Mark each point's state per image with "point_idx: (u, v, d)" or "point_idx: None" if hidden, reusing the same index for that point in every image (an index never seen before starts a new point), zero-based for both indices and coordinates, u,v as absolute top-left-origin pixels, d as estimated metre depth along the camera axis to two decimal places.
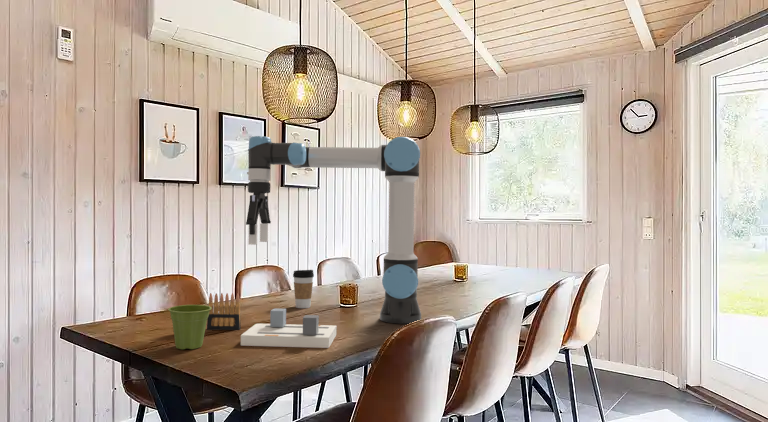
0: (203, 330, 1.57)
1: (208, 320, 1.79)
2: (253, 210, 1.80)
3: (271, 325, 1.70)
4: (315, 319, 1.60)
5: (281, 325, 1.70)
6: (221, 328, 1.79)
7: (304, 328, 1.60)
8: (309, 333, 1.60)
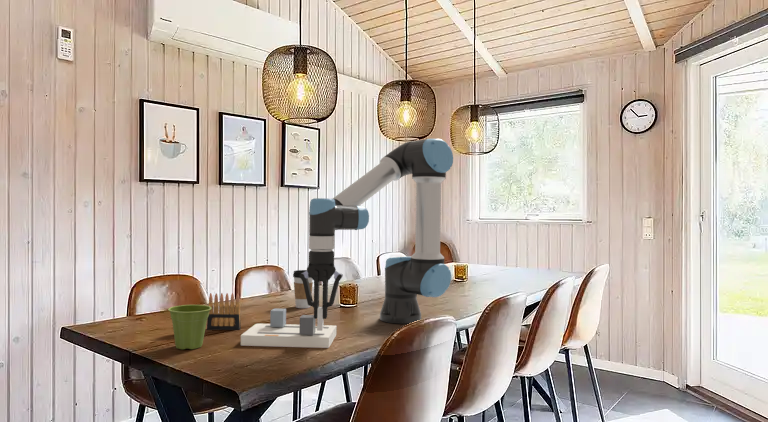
0: (203, 330, 1.57)
1: (208, 320, 1.79)
2: None
3: (271, 325, 1.70)
4: (312, 319, 1.60)
5: (281, 325, 1.70)
6: (221, 328, 1.79)
7: (301, 328, 1.60)
8: (306, 333, 1.60)
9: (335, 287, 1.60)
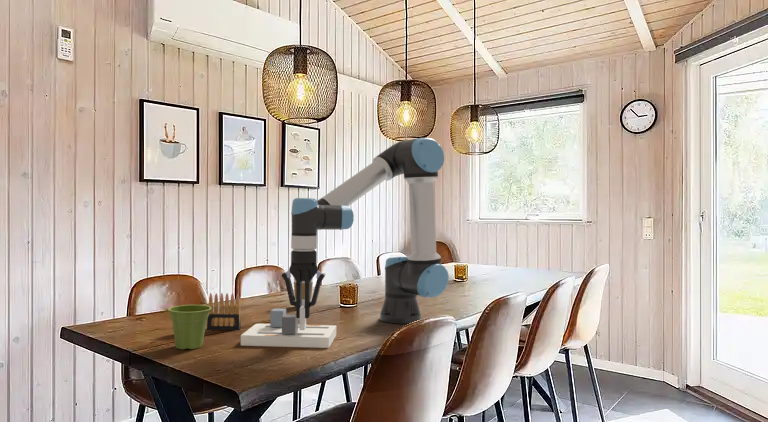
0: (203, 330, 1.57)
1: (208, 320, 1.79)
2: None
3: (271, 325, 1.70)
4: (294, 318, 1.60)
5: (281, 325, 1.70)
6: (221, 328, 1.79)
7: (283, 327, 1.61)
8: (288, 332, 1.61)
9: (317, 287, 1.61)
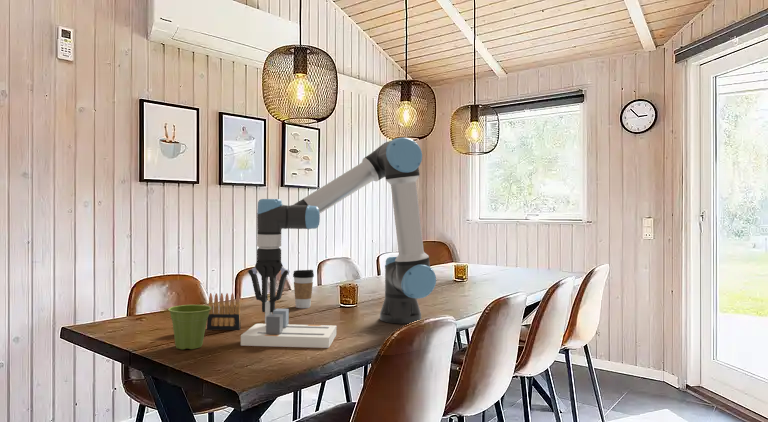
0: (203, 330, 1.57)
1: (208, 320, 1.79)
2: None
3: None
4: (278, 318, 1.61)
5: (284, 325, 1.70)
6: (221, 328, 1.79)
7: (267, 327, 1.61)
8: (272, 332, 1.61)
9: (281, 282, 1.71)
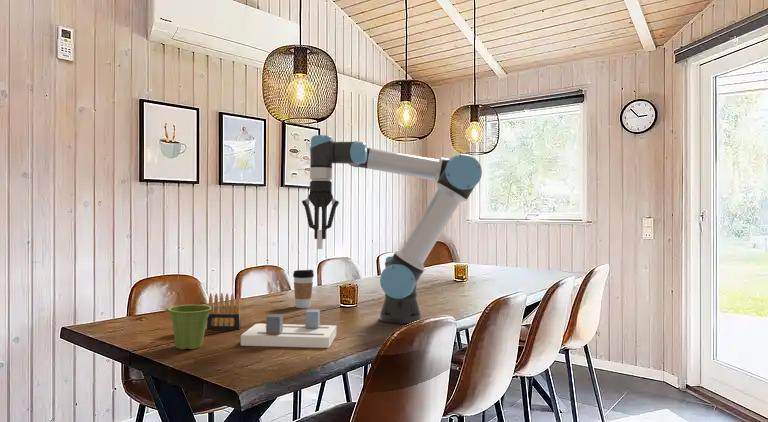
0: (203, 330, 1.57)
1: (208, 320, 1.79)
2: (307, 216, 1.88)
3: (306, 326, 1.69)
4: (278, 318, 1.61)
5: (316, 326, 1.69)
6: (221, 328, 1.79)
7: (267, 327, 1.61)
8: (272, 332, 1.61)
9: (332, 211, 1.87)
